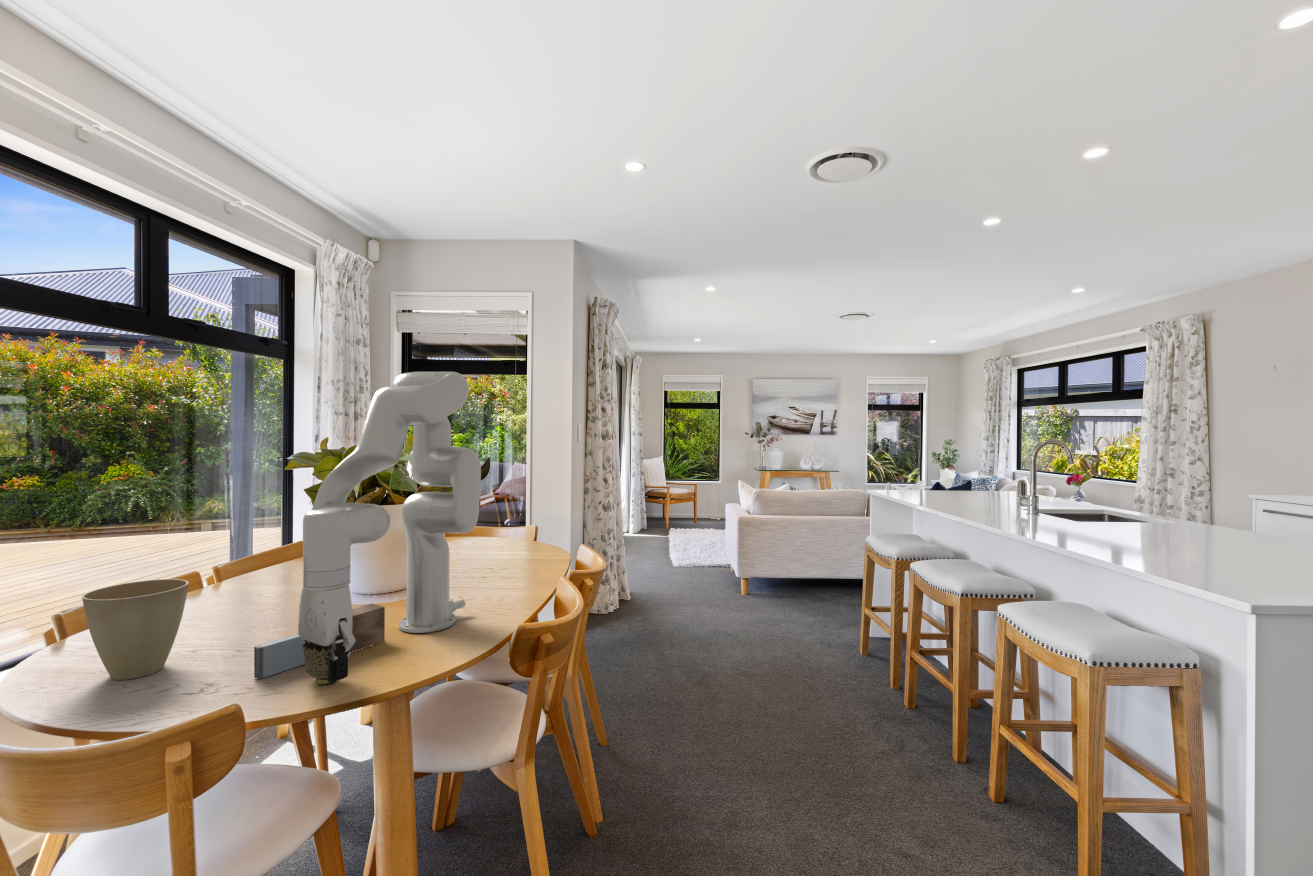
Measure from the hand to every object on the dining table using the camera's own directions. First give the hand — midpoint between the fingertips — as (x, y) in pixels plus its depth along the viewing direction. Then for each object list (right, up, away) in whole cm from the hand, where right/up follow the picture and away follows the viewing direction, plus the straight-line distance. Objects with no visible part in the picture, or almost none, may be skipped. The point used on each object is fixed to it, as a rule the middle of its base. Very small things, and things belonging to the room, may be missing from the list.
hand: (326, 674), depth 103 cm
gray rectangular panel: (-10, -2, +7) cm, 13 cm away
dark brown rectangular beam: (-5, -2, +16) cm, 17 cm away
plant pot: (-39, -2, +5) cm, 39 cm away
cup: (0, -2, 0) cm, 2 cm away
